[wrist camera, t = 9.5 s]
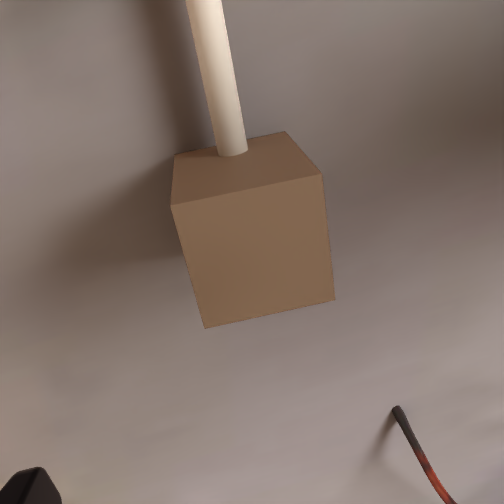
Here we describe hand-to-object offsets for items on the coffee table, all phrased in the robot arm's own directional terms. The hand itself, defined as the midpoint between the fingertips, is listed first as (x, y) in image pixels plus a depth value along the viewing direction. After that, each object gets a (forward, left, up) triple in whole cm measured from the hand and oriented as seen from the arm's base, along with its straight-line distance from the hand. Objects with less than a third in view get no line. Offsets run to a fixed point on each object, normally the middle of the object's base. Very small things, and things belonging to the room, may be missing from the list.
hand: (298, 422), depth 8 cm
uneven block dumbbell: (+7, 0, -10) cm, 13 cm away
